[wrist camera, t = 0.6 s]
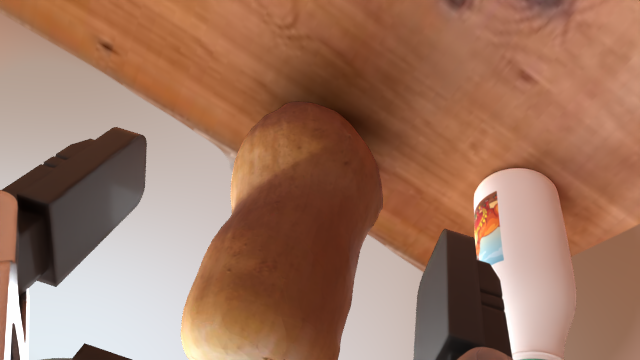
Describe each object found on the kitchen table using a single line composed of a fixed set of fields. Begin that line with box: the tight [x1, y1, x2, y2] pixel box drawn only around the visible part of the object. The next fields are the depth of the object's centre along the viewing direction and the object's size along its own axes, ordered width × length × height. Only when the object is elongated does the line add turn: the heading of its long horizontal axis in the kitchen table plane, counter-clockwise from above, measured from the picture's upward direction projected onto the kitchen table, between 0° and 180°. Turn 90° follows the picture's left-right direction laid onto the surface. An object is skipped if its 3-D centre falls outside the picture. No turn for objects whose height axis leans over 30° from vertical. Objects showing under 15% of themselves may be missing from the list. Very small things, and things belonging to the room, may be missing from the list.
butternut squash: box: [181, 102, 383, 360], centre depth 40 cm, size 14×13×25 cm
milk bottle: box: [474, 168, 576, 360], centre depth 42 cm, size 8×8×20 cm
